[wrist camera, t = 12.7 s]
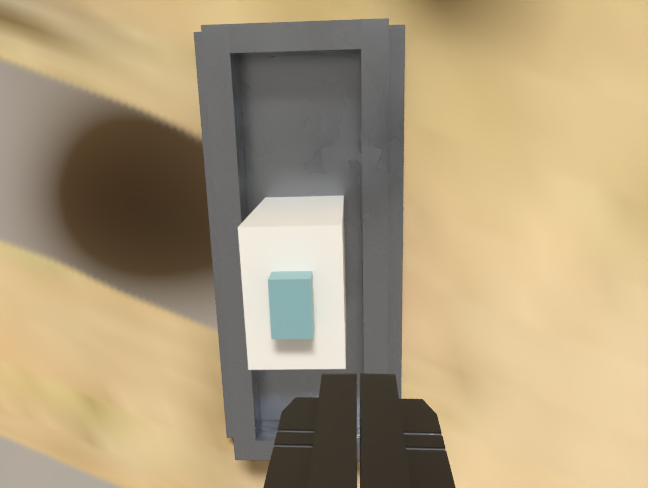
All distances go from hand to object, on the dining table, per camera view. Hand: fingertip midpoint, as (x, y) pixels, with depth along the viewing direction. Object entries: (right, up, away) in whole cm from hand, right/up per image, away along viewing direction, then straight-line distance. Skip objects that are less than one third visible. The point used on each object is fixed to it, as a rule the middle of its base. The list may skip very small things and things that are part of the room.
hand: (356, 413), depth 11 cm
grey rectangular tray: (-2, +3, +18) cm, 18 cm away
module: (-2, +3, +17) cm, 17 cm away
